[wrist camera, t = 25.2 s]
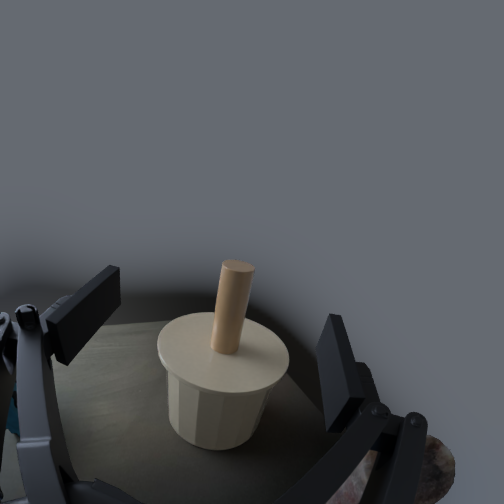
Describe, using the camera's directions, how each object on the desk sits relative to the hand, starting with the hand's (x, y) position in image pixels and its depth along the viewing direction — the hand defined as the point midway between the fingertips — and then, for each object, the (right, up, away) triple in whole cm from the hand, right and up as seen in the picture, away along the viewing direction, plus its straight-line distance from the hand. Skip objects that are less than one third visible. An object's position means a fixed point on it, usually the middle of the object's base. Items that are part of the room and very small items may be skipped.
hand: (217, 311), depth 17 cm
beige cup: (-3, -19, +18) cm, 27 cm away
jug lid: (-1, -7, +12) cm, 14 cm away
